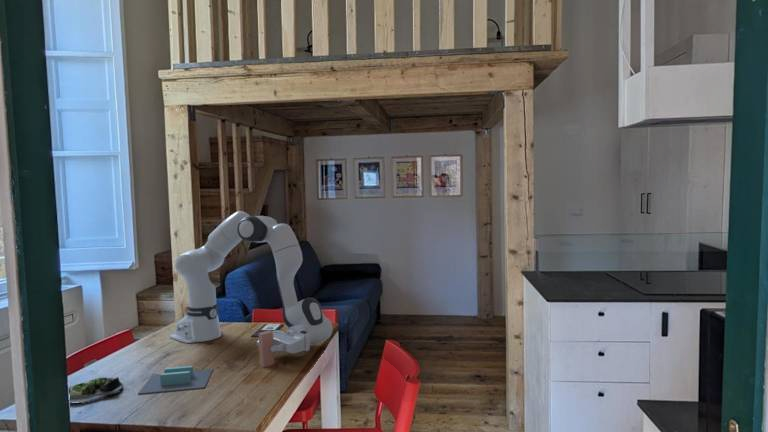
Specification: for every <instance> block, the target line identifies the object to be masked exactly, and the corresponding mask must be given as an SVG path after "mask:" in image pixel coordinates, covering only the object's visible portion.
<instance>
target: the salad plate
mask: <svg viewBox="0 0 768 432" xmlns="http://www.w3.org/2000/svg"><path fill="white" fill-rule="evenodd" d="M68 387H69V394H70V404H69V405H72V404H71V403H72V402H79V403H82V402H88V403H90V402H89V401H92V402H95V401H94V400H96V401H99V400H98V399H100V400H102V398H103V399H106V397H107V398H110V396H111V397H113V395H114V396H116V395H117V393H118V394H119V393H121V392H122V391H123V388H124V384H123V383H122V382H121V381H120V379H119V376H117V377H113V376H111V377H110V376H109V377H106V376H105V377H97V378H94V379H90V380H89V381H87V382H86V381H85V382H81V383H77V384H75V385H71V386H68Z"/></svg>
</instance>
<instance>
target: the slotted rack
mask: <svg viewBox="0 0 768 432" xmlns="http://www.w3.org/2000/svg"><path fill="white" fill-rule="evenodd" d="M163 371H164V372H163V373H160V374H161V375H160V381H161V386H163V385H173V384H184V383H190V382H191V377H193V376H194V371H195V370H194V365H185V366H174V367H165V368H164V369H163Z"/></svg>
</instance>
